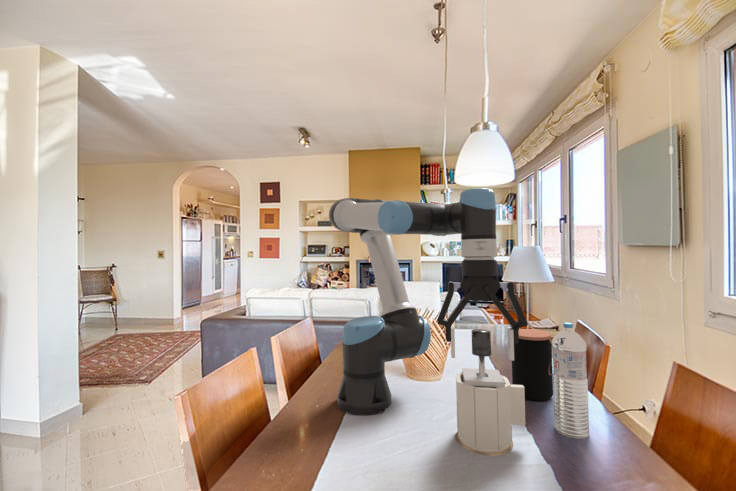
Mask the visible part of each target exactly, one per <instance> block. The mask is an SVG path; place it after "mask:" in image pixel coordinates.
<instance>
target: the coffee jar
mask: <svg viewBox="0 0 736 491" xmlns="http://www.w3.org/2000/svg"><path fill="white" fill-rule="evenodd" d="M550 339H552V334H551V333H550V332H548V331H545V330H542V329H541V330H540V329H533V328H520V329H519V342H518V344H514V361H512V360H511V382H512V383H511V384H512V385H523V386H524V391H525V401H527V402H536V403H547V402H549V401H550V400H551V399H552V397H554V393H553V390H554V389H553V347H552V341H550Z"/></svg>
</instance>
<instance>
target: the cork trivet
mask: <svg viewBox="0 0 736 491" xmlns="http://www.w3.org/2000/svg"><path fill="white" fill-rule="evenodd" d="M455 440H456V441H457V443H458V445H459V446H461V447H462V448H464V449H466V450H467V451H470V452H472V453H474V454H479V455H482V456H502V455H505V454H509V453H510V452H511V451H512V450H513V449H514V441H513V440H512V443H511V446H510V448H509V449H508V450H507V451H505V452H502V453H497V454H486V453H480V452H477V451H474V450H471V449H469V448H467V447H465V446H464V445H463V444H462V443H461V442H460V441H459V439H458V430H456V432H455Z"/></svg>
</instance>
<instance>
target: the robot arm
mask: <svg viewBox="0 0 736 491" xmlns="http://www.w3.org/2000/svg"><path fill="white" fill-rule="evenodd" d="M496 204H497V203H496V195H495V192H494V190H493V189H490V188H484V187H481V188H480V187H476V188H469V189H464V190H463V191H461V192H460V195H459V201H458V202H454V203H447V204H446V203H445V204H444V203H429V202H416V201H415V202H413V201H403V200H381V199H364V198H356V197H355V198H354V197H347V198H342V199H339V200H337V201H335V202H333V204H332V205H331V206H330V209H329V211H328V212H329V213H328V219H329V222H330V224H331V225H332V227H334V228H335V229H336V230H338V231H340V232H344V233H355V234H359V237H360V239H361V242H362V243H364V244H366V246H367V250H368V255H369V260H370V263H371V268H372V271H373V276H374V279H375V285H376V288H377V292H378V296H379V300H380V304H381V308H382V312H381V314H380V315H369V316H359V317H356V318H352V319H350V320H348V321H346V323H345V324H344V325H343V327H342V339H341V342H342V372H343V374H342V379H341V382H340V384H339V385H340V386H339V389H338V393H337V399H336V400H337V403H336V404H337V407H338V409H339V410H341V411H342V412H344V413H347V414H351V415H354V416H355V415H356V416H369V415H370V414H371V415H376V414H379V413H383V412H385V410H386V409H388V408H389V407H390V406H391V404H392V393H391V389H390V386H389V383H388V380H387V378H386V372H385V365H386V364H385V363H388V362H392V361H398V360H403V359H411V358H414V357H417V356H421V355H423V354H425V352H427V350H428V349H429V346H430V343H431V339H432V332H431V326H430V324H429V322H428V320H427V319H426V318H425V317H424V316H422V315H418V312H417V308H416V307H415V306H414V305H412V304H410V301H409V298H408V294H407V289H406V286H405V283H404V279H403V276H402V271H401V268H400V264H399V261H398V257H397V254H396V251H395V250H396V249H395V247H394V243H393V240H392V237H393V235H426V236H427V235H428V236H429V235H431V236H435V237H436V236H437V237H439V236H440V237H445V236H449V235H450V236H451V235H457V234H458V235H459V234H460V242H461V244H460V245H461V246H460V249H461V258H463V260H462V261H461V280H460V282H453V281H451V280H450V281H448V283H447V292H446V295H445V298H444V301H443V303H442V306H441V308H440V312H439V314H438V315H437V316H438V317H437V319H436V322H437V324H438V325H441V326H443V327H444V328H445V341H446V342H447V343H450V355H451V359H455V358H456V340H455V339H456V336H455V334H456V333H455V332H456V331H455V326H454V325H453V324H454V323H455V321H456V320H457V318H458V317H459V316H460V314H461V313H462V311H463V310H464V308H465V307H466V306H467V304H469V302H470V301H473V302H479V301H482V302H489V301H490V300H491V302H492V303H493V304H494V306H495V307H496V309H498V311H499V312H500V313H501V314H502V315H503V318H504V319H505V320H506V321H507V322H508V324H509V325H510V327H509V326H507V327H506V329H507V332H506V333H507V335H506V337H507V358H508V359H509V360H510V361H511V362H512V361H514V344H518V342H519V329H522V328H523V327H527V326H528V321H527V318H526V315H525V314H524V311H523V309H522V307H521V305H520V302H519V300H518V298H517V296H516V293H515V286H514V283H513V282H512V281H504V282H503V281H502V282H501V281H499V277H498V261H497V259H495V258H497V257H498V250H497V248H498V247H497V205H496ZM459 288H460V289H461V290H462V291H463V293H464V295H463V296H462V297H461V298H460V300H459V302H458V304H457V305H455V308H454V309H453V310H452V312H451V313H450V314H449V315H448V318H447V319H445V318H446V315H447V312H448V309H449V308H450V304H451V302H452V300H453V297H454V294H455V293H456V292H457V291H458V289H459ZM500 288H501V289H502V290H503V292H505V293H506V295H507V298H508V301H509V302H510V304H511V306H512V310H513V311H514V313H515V316H516V319H517V320H515V319H514V318H513V316H512V315H511V314H510V312H509V311H508V310H507V309H506V307H505V306H504V304H503V303H502V302H501V300H500V299H499V298H498V296H497V295H496V294H497V293H498V291H499V290H500ZM371 415H370V416H371Z"/></svg>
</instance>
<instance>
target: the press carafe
mask: <svg viewBox="0 0 736 491" xmlns="http://www.w3.org/2000/svg"><path fill="white" fill-rule="evenodd" d="M455 382H456V383H455V384H456V385H455V387H456V389H455V390H456V391H455V392H456V427H457V430H456V431H458V439H459V441H460V442H461V443H462V444H463V445H464V446H465V447H467V448H469V449H471V450H474V451H477V452H480V453H486V454H497V453H502V452H505V451H507V450H508V449H509V448H510V446H511V443H512V441H513V427H512V426H526V400H525V391H524V386H523V385H512V383H510V381H509V379H508V377H507V376H505V375H502V374H501V373H500V371H499V369H491V368H485V377H479V368H471V367H470V368H468V367H462V368H461V372H460V373H457V374H456V375H455ZM480 386H485V387H480Z"/></svg>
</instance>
